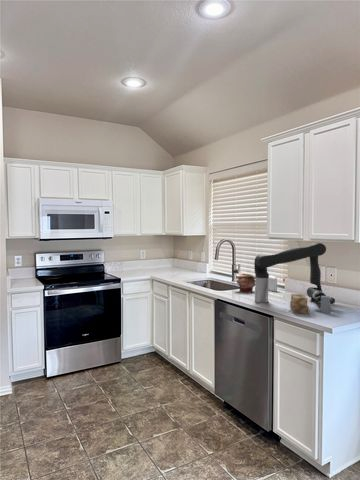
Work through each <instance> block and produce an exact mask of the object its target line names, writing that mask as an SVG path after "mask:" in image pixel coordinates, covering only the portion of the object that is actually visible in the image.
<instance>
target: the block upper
mask: <svg viewBox="0 0 360 480" xmlns="http://www.w3.org/2000/svg"><path fill="white" fill-rule="evenodd" d="M290 298H291V299H290V301H291V303H292V304H293V306H306V307H307V306H308V297H307V296H306V295H305V294H298V293H291V295H290Z"/></svg>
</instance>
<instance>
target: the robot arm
mask: <svg viewBox="0 0 360 480" xmlns="http://www.w3.org/2000/svg"><path fill="white" fill-rule="evenodd" d="M326 251H327V246H326V245H325V244H323V243H322V242H311V244H310V245H309V246H305V247H303V246H301V247H293V248H288V249H283V250H281V251H280V252H278V253H274V254H267V255H266V254H258V255H256V256H255V259H254V274H255V276H254V277H255V286H254V302H255V303H263V304H264V303H268V302H269V290H268V288H269V276H270V275H269V272H268V268H271V267H274V266H276V265H282V264H285V263H286V264H287V263H292V262H296V261H300V260H304V259H307V258H309V266H310V268H309V269H310V270H309V271H310V273H309V274H310V275H309V282H310V284H311V285H315V286H316V287H315V286H311V287H308V288H307V289H306V295H307V296H308V297H309V298H310V302H311V303H317V304H319V305H321V296H327V295H326V294H325V293H324V292H323V288H322V285H321V284H322V283H321V279H322V278H321V277H322V276H321V268H320V265H319V256H323V255H324V254H326ZM335 303H336V299H335V298H334V297H332V296H331V297H330V305H333V304H335Z"/></svg>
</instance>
